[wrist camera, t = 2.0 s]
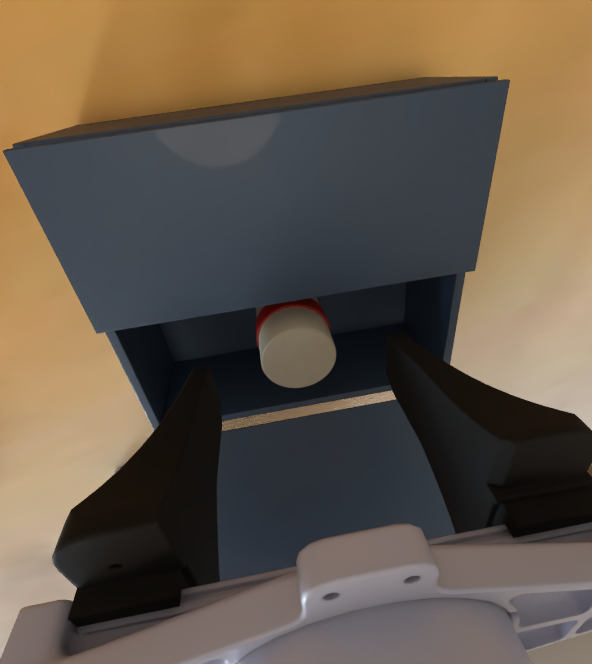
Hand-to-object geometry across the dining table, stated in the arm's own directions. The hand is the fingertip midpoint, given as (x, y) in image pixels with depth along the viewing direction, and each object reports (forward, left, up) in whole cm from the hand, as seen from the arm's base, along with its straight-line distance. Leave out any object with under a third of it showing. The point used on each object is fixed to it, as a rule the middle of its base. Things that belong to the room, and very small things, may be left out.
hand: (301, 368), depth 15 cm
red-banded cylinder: (0, 0, -7) cm, 7 cm away
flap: (-6, 0, +2) cm, 6 cm away
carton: (+3, 0, -7) cm, 7 cm away
